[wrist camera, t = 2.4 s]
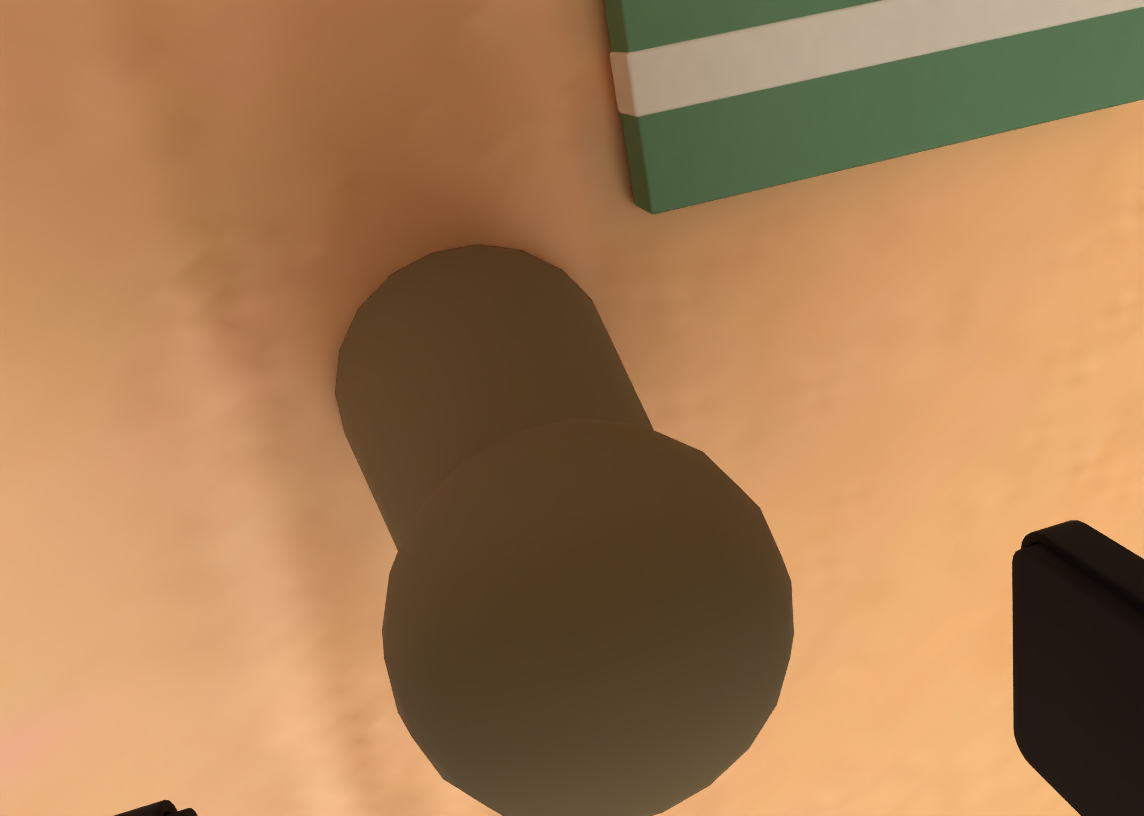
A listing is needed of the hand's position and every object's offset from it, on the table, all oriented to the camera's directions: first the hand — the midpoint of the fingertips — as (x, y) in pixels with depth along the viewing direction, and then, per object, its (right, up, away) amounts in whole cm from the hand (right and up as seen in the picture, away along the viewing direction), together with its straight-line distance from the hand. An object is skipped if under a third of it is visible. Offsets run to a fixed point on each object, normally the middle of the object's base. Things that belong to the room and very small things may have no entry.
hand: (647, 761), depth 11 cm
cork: (-3, +4, +10) cm, 12 cm away
